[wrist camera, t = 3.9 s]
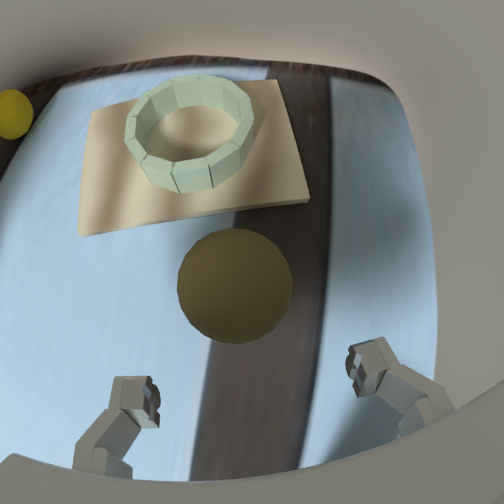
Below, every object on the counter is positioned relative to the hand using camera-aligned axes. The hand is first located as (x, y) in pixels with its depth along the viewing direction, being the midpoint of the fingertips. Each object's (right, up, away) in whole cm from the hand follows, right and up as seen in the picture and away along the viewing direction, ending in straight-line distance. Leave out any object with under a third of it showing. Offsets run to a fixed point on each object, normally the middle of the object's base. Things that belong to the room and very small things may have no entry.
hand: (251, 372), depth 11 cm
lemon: (-28, +20, +15) cm, 38 cm away
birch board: (-6, +14, +14) cm, 21 cm away
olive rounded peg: (-1, +1, +12) cm, 12 cm away
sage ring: (-5, +15, +13) cm, 20 cm away
